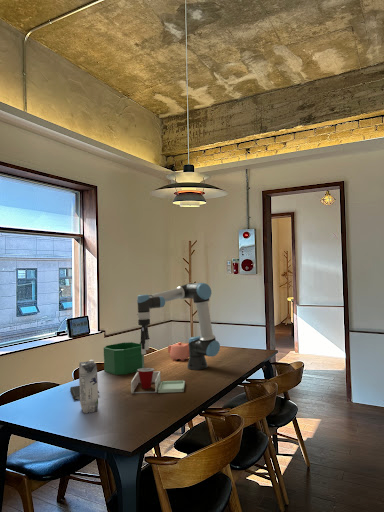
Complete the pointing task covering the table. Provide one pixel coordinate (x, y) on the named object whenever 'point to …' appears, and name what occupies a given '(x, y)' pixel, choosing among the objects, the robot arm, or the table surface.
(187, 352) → the teapot
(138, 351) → the planter
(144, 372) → the plastic cup
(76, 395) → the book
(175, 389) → the tray
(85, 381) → the juice carton
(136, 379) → the frame
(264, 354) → the table surface
